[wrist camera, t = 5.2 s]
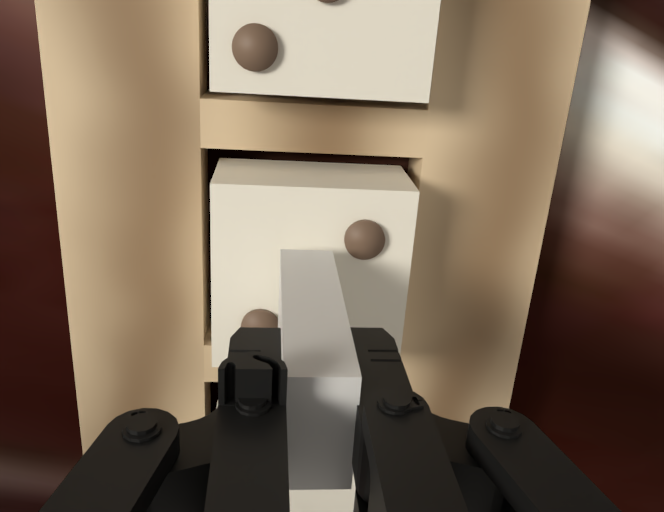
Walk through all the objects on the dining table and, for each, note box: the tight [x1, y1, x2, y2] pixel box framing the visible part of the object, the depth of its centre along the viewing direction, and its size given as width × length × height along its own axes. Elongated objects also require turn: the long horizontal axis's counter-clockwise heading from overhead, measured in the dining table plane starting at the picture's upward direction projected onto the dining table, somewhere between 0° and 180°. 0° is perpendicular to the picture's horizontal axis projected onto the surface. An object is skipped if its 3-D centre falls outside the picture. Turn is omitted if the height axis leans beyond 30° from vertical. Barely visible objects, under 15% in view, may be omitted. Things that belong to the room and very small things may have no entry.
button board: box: [35, 0, 591, 455], centre depth 22 cm, size 16×26×2 cm, turn 176°
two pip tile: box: [210, 158, 420, 367], centre depth 20 cm, size 6×6×3 cm
